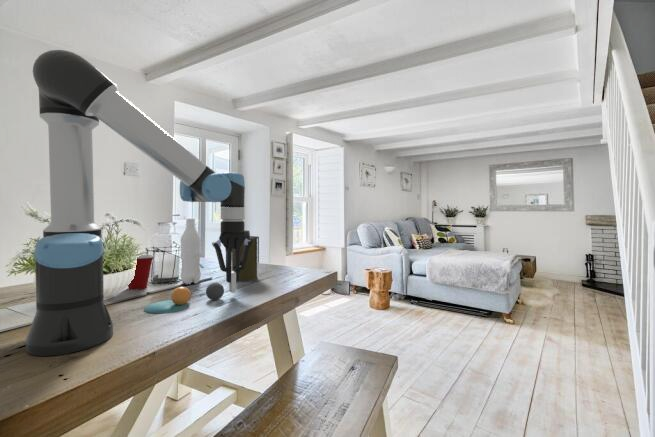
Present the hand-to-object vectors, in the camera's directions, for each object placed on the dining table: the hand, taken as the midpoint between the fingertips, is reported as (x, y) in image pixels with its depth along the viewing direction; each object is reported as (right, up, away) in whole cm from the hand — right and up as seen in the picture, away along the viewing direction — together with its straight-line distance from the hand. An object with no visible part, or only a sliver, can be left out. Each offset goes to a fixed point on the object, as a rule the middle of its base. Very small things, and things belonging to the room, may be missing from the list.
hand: (232, 291), depth 106 cm
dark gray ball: (-5, +1, -3) cm, 6 cm away
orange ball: (-13, +1, -9) cm, 16 cm away
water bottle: (-22, -1, +18) cm, 29 cm away
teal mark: (-16, -2, -11) cm, 20 cm away
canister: (-3, -1, +26) cm, 26 cm away
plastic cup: (-38, -1, +11) cm, 39 cm away
